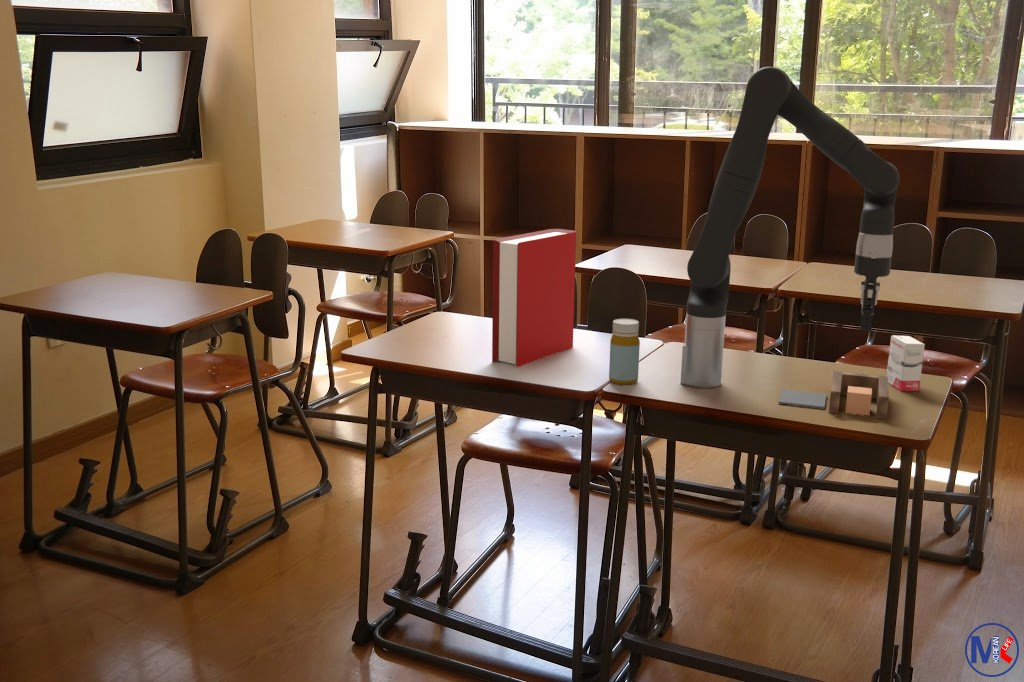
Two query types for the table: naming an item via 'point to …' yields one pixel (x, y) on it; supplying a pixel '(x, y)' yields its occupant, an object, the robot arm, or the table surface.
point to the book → (533, 295)
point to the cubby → (860, 380)
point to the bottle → (624, 352)
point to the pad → (803, 399)
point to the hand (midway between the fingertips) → (865, 327)
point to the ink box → (905, 363)
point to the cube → (858, 400)
